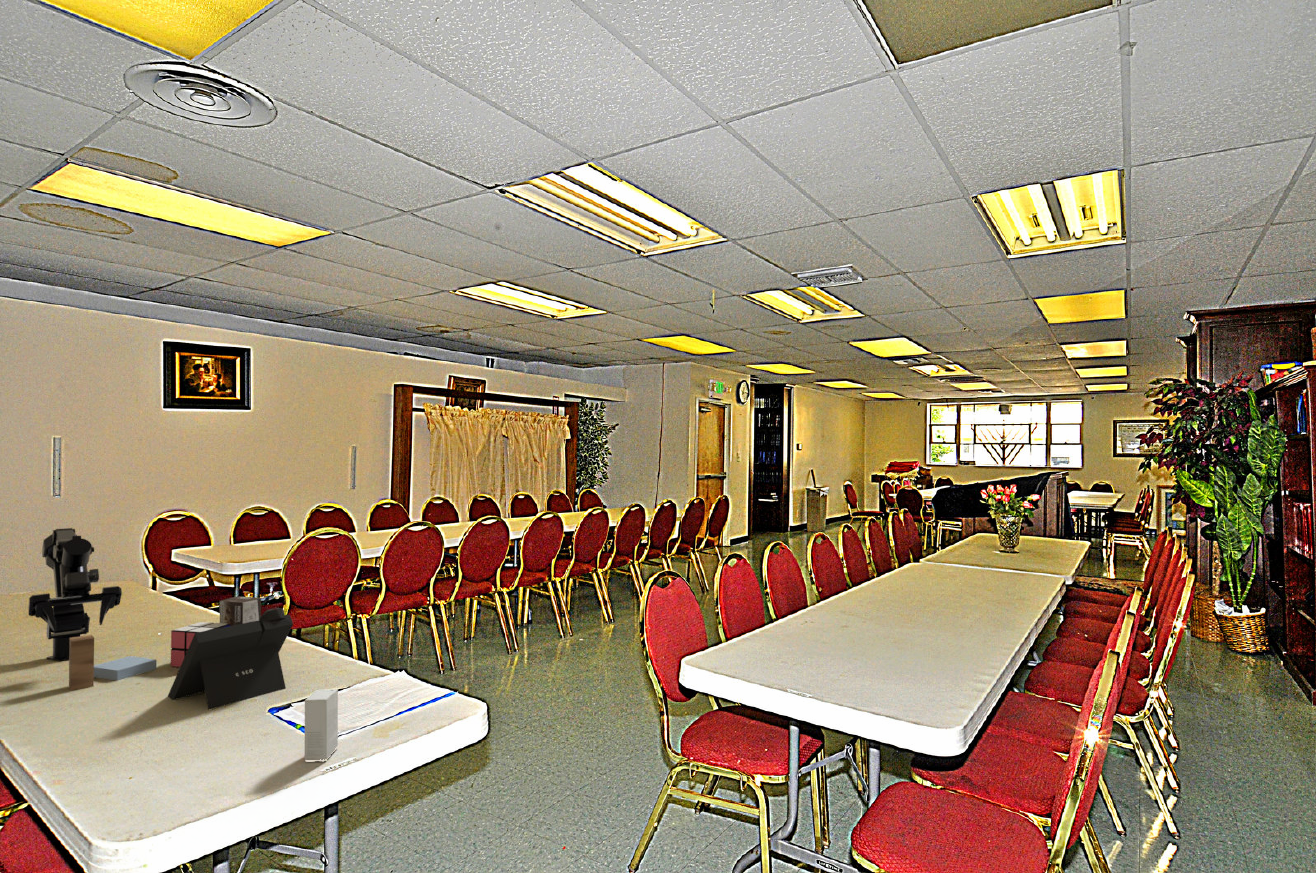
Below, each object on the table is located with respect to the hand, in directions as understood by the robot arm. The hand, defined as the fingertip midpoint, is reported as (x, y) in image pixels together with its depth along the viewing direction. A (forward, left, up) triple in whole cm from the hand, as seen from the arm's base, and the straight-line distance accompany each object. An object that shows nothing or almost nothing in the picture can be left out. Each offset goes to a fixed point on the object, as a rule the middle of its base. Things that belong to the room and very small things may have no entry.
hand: (78, 627), depth 182 cm
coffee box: (+21, +29, -13) cm, 39 cm away
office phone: (+42, +11, -14) cm, 45 cm away
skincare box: (+94, -16, -13) cm, 96 cm away
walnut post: (+7, -4, -13) cm, 15 cm away
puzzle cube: (+17, +20, -13) cm, 30 cm away
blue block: (+6, +7, -14) cm, 17 cm away
